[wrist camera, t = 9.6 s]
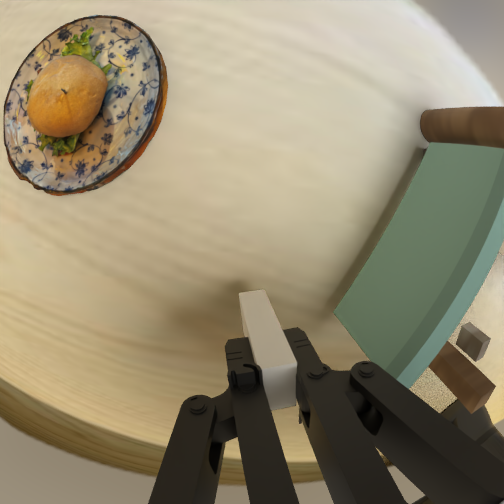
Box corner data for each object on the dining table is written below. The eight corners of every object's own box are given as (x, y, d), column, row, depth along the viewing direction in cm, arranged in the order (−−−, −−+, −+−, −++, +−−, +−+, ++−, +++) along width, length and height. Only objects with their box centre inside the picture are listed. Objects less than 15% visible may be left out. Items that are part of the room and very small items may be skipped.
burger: (92, 1, 11) (53, -49, 4) (209, 83, 15) (212, 34, 8) (-7, 134, 13) (-74, 137, 6) (88, 229, 16) (31, 273, 9)
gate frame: (432, 330, 24) (498, 393, 14) (401, 342, 24) (468, 416, 14) (453, 115, 17) (559, 120, 7) (418, 107, 17) (538, 103, 7)
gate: (428, 140, 16) (518, 148, 9) (442, 155, 17) (527, 169, 9) (330, 311, 19) (389, 387, 12) (348, 319, 20) (406, 391, 12)
